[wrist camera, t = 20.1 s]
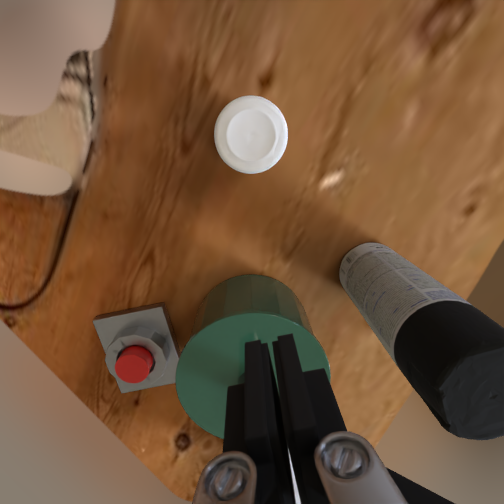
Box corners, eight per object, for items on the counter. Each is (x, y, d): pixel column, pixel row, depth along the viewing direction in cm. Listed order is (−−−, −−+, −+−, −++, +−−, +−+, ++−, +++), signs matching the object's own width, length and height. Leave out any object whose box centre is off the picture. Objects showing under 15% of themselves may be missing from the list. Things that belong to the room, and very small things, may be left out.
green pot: (184, 286, 37) (165, 331, 28) (295, 264, 37) (311, 302, 28) (211, 379, 41) (202, 444, 32) (312, 359, 41) (332, 420, 32)
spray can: (346, 304, 38) (445, 459, 19) (329, 252, 37) (421, 366, 17) (402, 285, 38) (562, 425, 19) (388, 231, 36) (551, 325, 17)
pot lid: (158, 324, 29) (132, 378, 22) (315, 292, 28) (338, 338, 21) (199, 445, 33) (187, 522, 26) (337, 420, 32) (361, 492, 25)
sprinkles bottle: (216, 133, 33) (197, 124, 20) (255, 105, 32) (261, 77, 19) (242, 173, 34) (241, 189, 21) (280, 147, 33) (303, 146, 20)
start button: (115, 348, 37) (109, 358, 35) (147, 342, 36) (142, 351, 35) (126, 375, 38) (120, 386, 36) (157, 369, 38) (153, 380, 36)
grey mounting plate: (96, 315, 38) (84, 329, 35) (164, 301, 38) (157, 314, 35) (124, 386, 41) (115, 404, 38) (187, 374, 41) (183, 391, 38)
